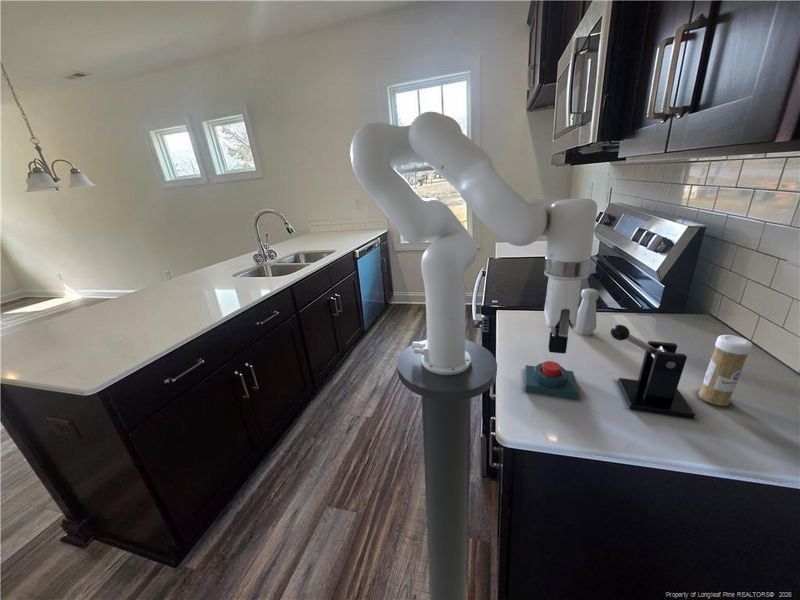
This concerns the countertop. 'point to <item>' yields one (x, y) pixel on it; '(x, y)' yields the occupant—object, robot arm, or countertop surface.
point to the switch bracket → (658, 384)
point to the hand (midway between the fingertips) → (556, 350)
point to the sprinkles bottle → (724, 369)
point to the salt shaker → (587, 312)
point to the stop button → (551, 369)
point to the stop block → (550, 382)
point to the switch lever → (634, 339)
